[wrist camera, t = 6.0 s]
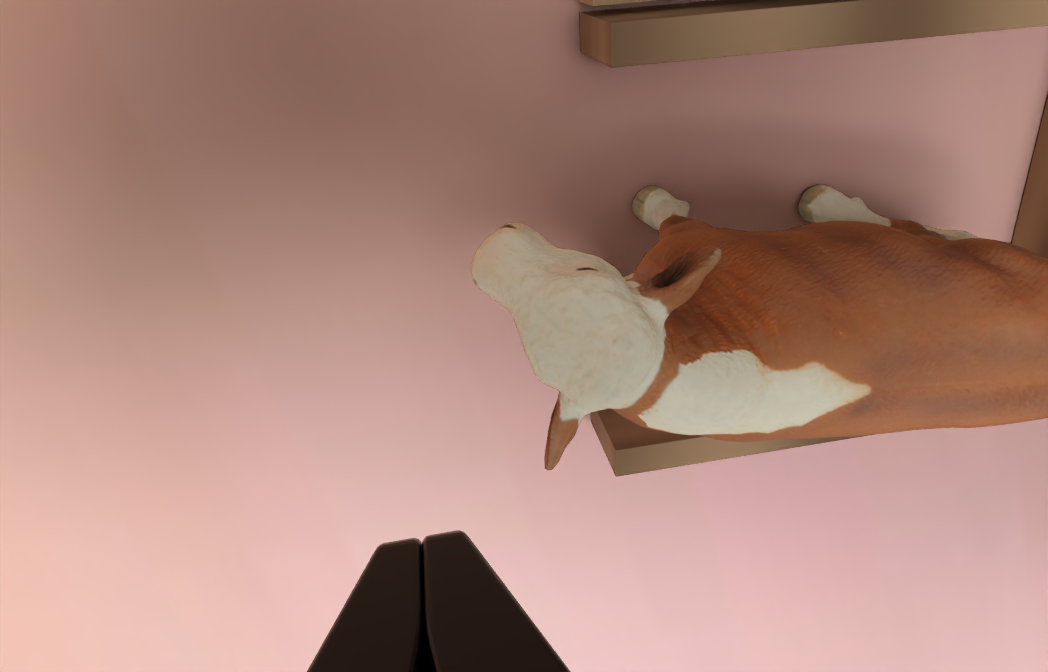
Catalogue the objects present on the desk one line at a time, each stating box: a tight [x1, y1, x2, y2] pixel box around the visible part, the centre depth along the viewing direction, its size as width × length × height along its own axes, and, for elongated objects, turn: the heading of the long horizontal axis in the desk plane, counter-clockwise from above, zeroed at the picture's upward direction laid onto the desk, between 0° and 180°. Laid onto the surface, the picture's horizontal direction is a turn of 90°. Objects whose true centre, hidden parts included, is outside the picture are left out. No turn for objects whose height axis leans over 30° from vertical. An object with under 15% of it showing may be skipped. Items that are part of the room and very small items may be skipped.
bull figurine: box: [471, 184, 1048, 470], centre depth 16 cm, size 4×13×8 cm, turn 80°
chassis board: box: [579, 0, 1048, 477], centre depth 16 cm, size 13×18×4 cm
